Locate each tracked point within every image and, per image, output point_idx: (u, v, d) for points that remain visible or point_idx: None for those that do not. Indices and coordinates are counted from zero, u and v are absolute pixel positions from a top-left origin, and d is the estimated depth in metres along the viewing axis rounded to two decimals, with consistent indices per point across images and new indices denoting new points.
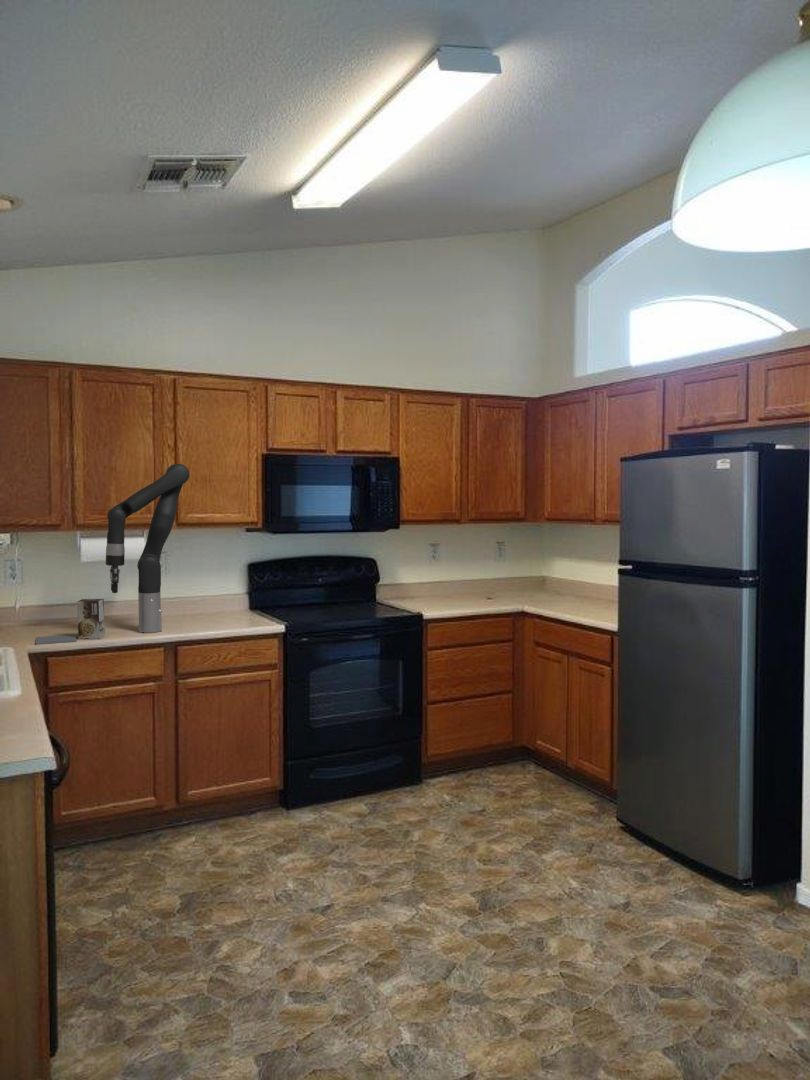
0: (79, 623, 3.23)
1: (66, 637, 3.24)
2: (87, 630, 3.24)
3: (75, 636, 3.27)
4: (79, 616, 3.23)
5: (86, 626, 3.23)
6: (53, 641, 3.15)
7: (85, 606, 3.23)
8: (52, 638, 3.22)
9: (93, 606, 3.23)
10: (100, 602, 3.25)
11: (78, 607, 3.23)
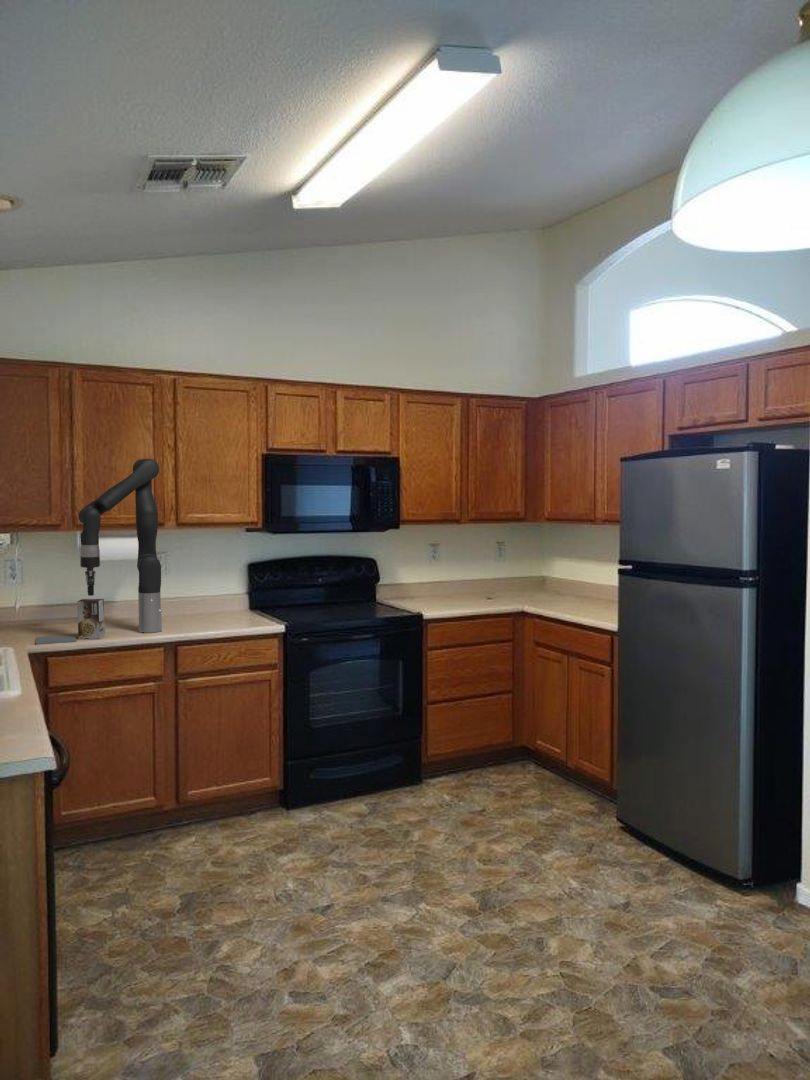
0: (79, 623, 3.23)
1: (66, 637, 3.24)
2: (87, 630, 3.24)
3: (75, 636, 3.27)
4: (79, 616, 3.23)
5: (86, 626, 3.23)
6: (53, 641, 3.15)
7: (85, 606, 3.23)
8: (52, 638, 3.22)
9: (93, 606, 3.23)
10: (100, 602, 3.25)
11: (78, 607, 3.23)
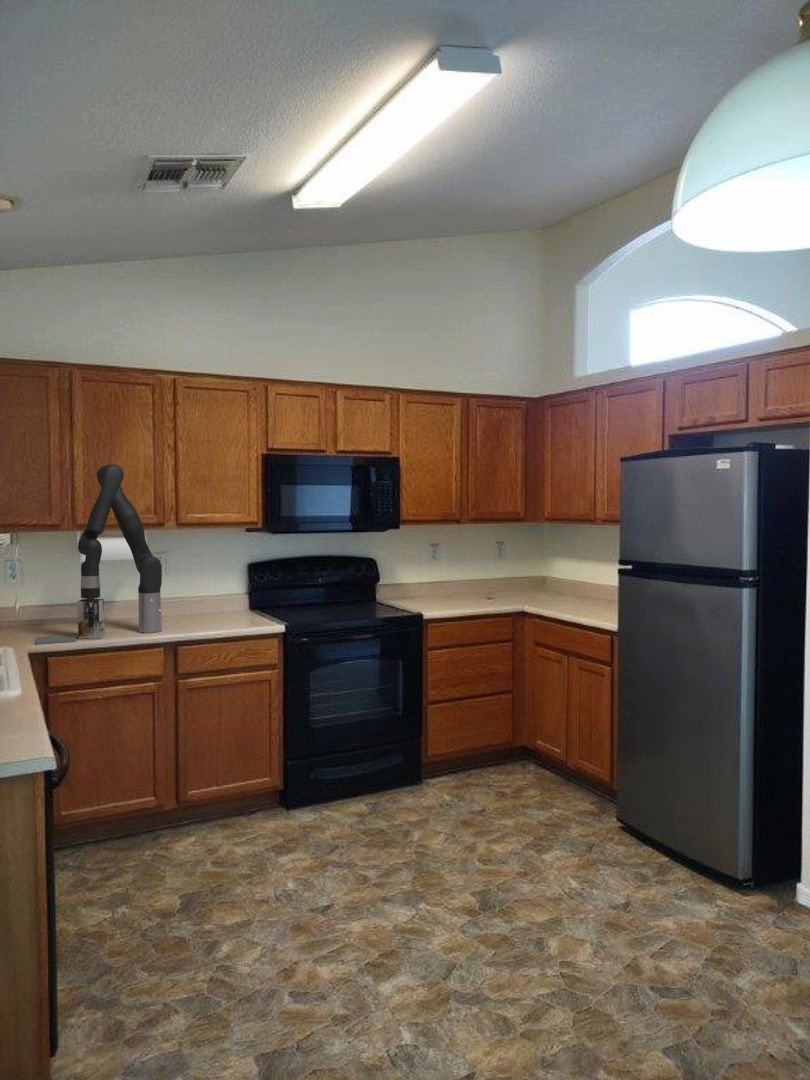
0: (79, 623, 3.23)
1: (66, 637, 3.24)
2: (87, 630, 3.23)
3: (75, 636, 3.27)
4: (79, 616, 3.23)
5: (86, 626, 3.23)
6: (53, 641, 3.15)
7: (85, 606, 3.23)
8: (52, 638, 3.22)
9: None
10: (100, 602, 3.25)
11: (78, 607, 3.23)
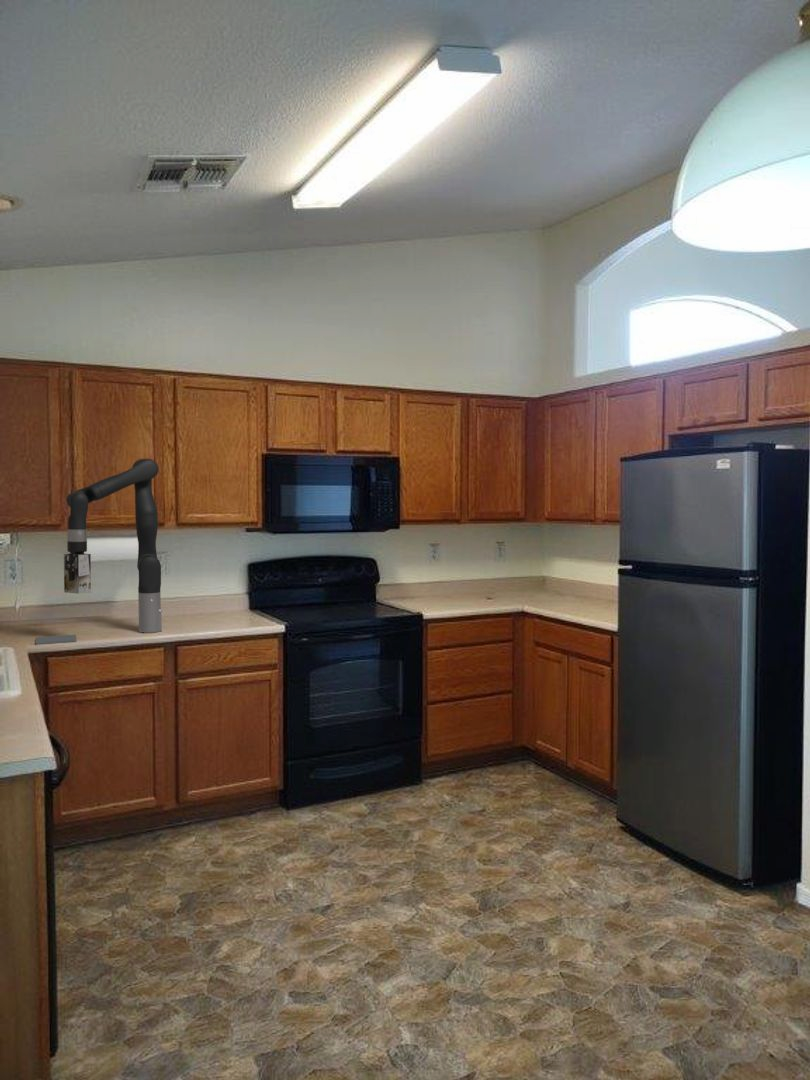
0: (64, 576, 3.22)
1: (66, 637, 3.24)
2: (70, 583, 3.21)
3: (75, 636, 3.27)
4: None
5: None
6: (53, 641, 3.15)
7: None
8: (52, 638, 3.22)
9: (74, 560, 3.19)
10: (82, 556, 3.20)
11: (64, 560, 3.22)
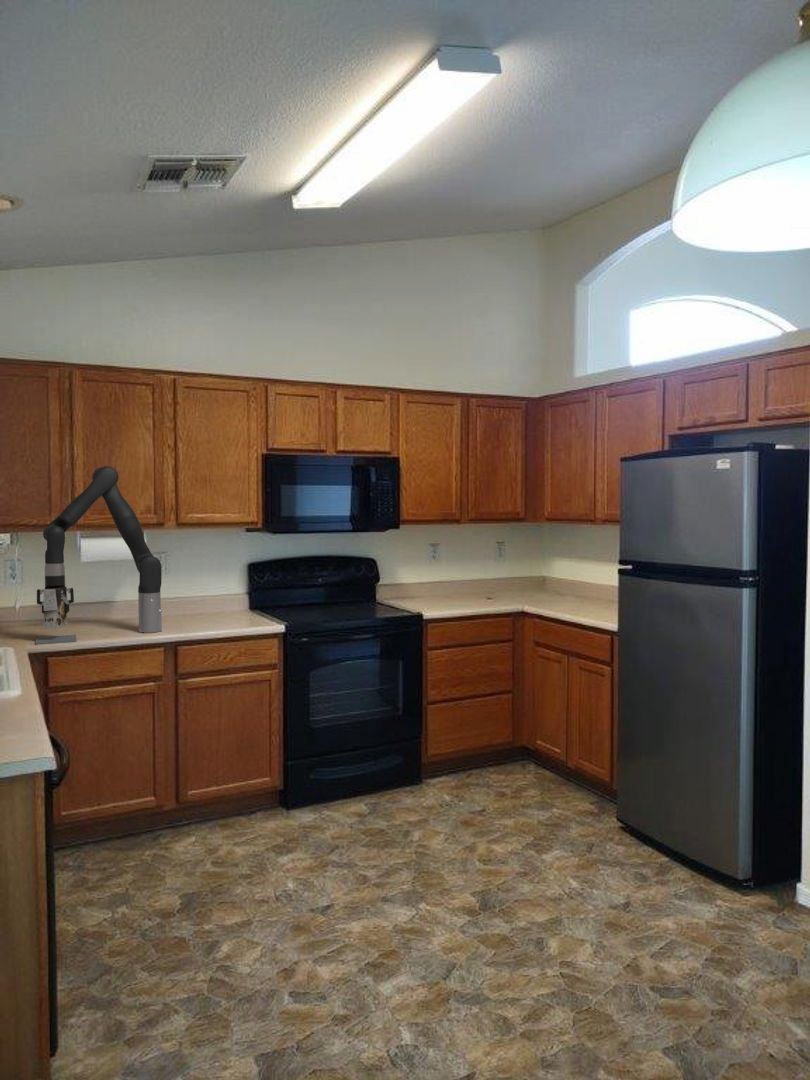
0: None
1: (66, 637, 3.24)
2: None
3: (75, 636, 3.27)
4: None
5: None
6: (53, 641, 3.15)
7: None
8: (52, 638, 3.22)
9: None
10: (48, 591, 3.16)
11: None
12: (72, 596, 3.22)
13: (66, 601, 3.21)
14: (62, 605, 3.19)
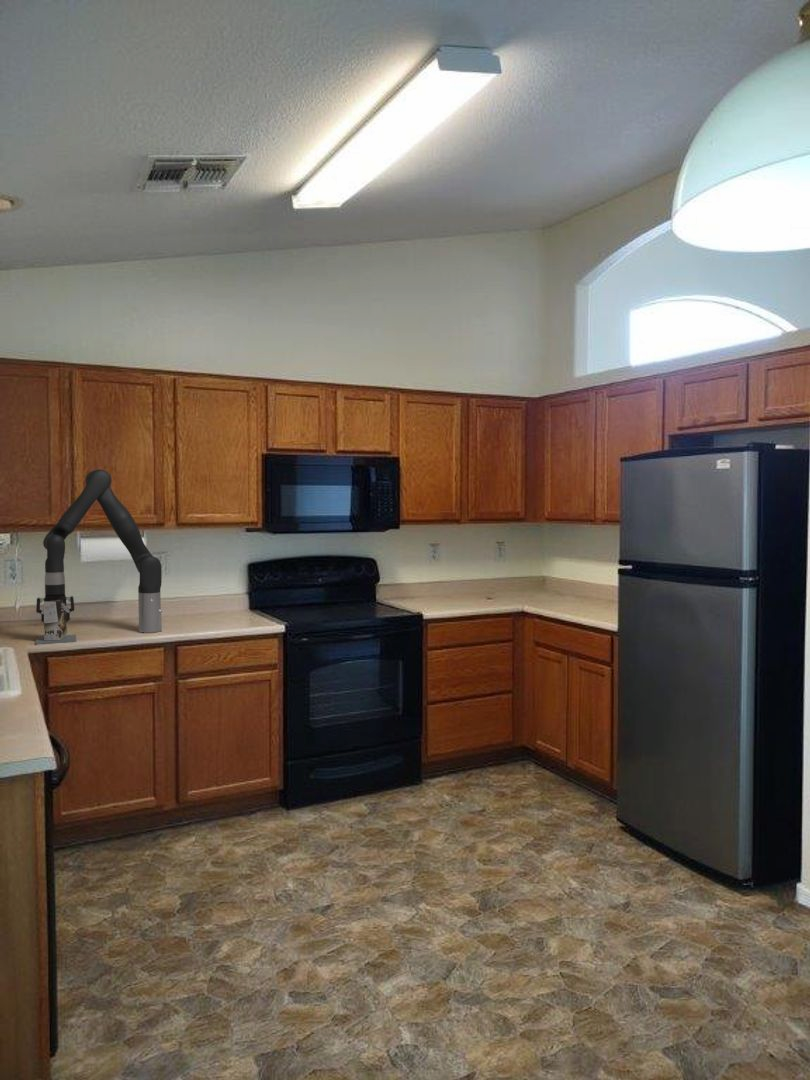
0: None
1: (66, 637, 3.24)
2: None
3: (75, 636, 3.27)
4: None
5: None
6: (53, 641, 3.15)
7: None
8: None
9: None
10: (48, 603, 3.16)
11: None
12: (72, 605, 3.22)
13: (67, 609, 3.21)
14: (62, 618, 3.20)
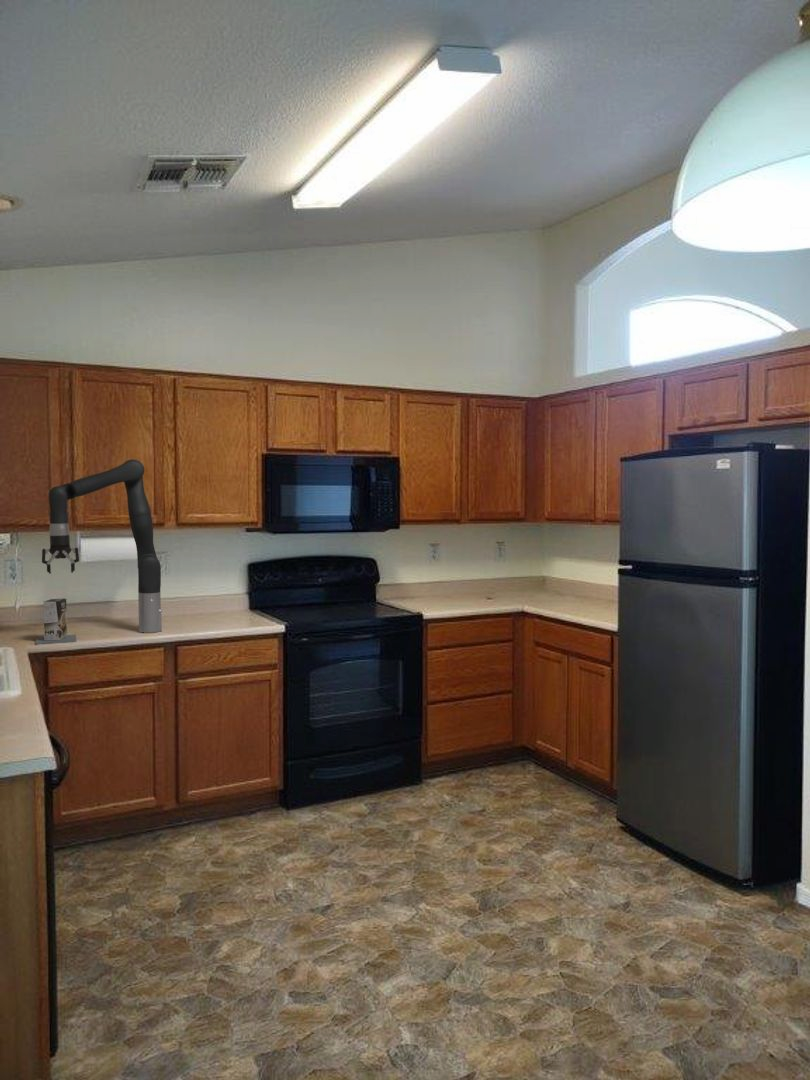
0: None
1: (66, 637, 3.24)
2: None
3: (75, 636, 3.27)
4: None
5: None
6: (53, 641, 3.15)
7: None
8: None
9: None
10: (48, 603, 3.16)
11: None
12: (77, 555, 3.28)
13: (71, 560, 3.27)
14: (62, 618, 3.20)
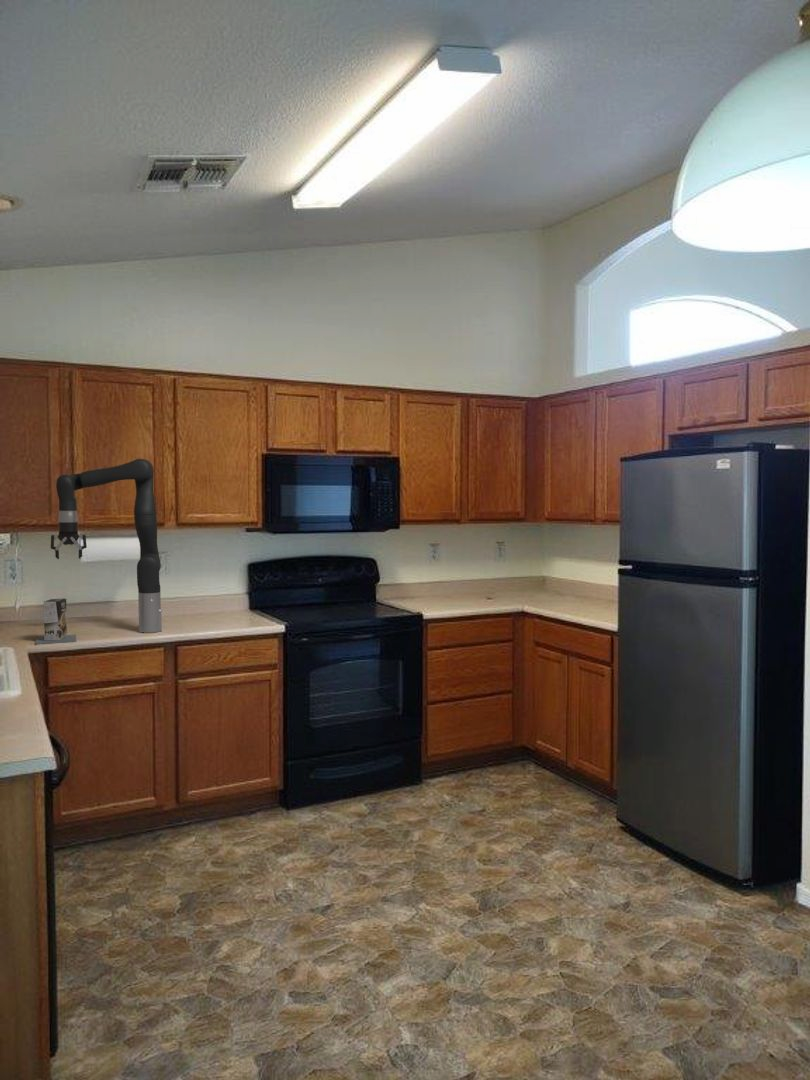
0: None
1: (66, 637, 3.24)
2: None
3: (75, 636, 3.27)
4: None
5: None
6: (53, 641, 3.15)
7: None
8: None
9: None
10: (48, 603, 3.16)
11: None
12: (84, 542, 3.39)
13: (79, 547, 3.38)
14: (62, 618, 3.20)
